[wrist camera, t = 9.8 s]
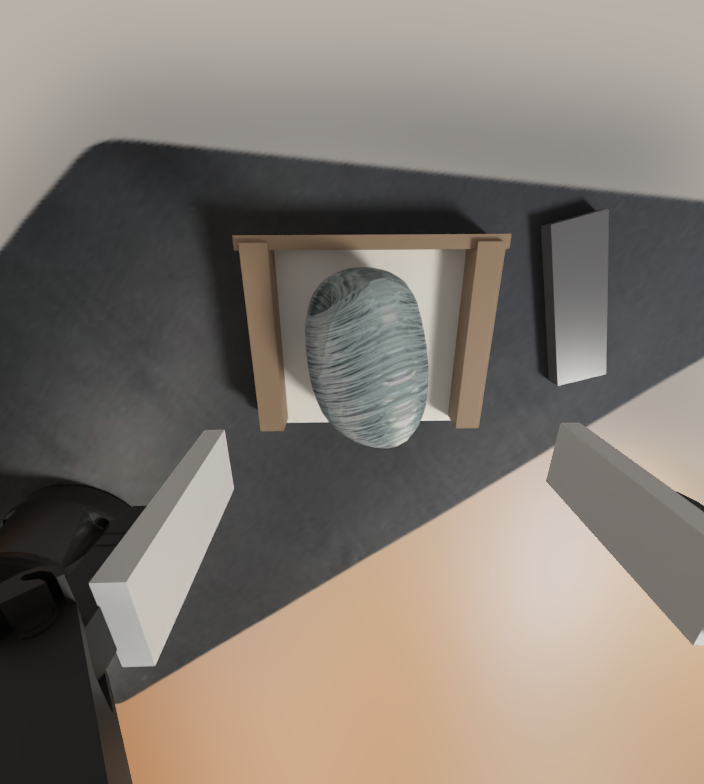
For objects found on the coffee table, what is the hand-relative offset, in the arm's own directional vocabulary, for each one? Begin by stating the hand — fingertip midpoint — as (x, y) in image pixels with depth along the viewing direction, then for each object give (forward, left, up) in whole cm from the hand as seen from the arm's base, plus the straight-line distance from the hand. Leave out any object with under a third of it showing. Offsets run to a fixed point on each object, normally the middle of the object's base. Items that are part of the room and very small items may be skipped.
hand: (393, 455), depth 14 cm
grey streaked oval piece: (0, 0, -18) cm, 18 cm away
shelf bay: (0, +1, -20) cm, 20 cm away
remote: (+18, +3, -20) cm, 27 cm away
